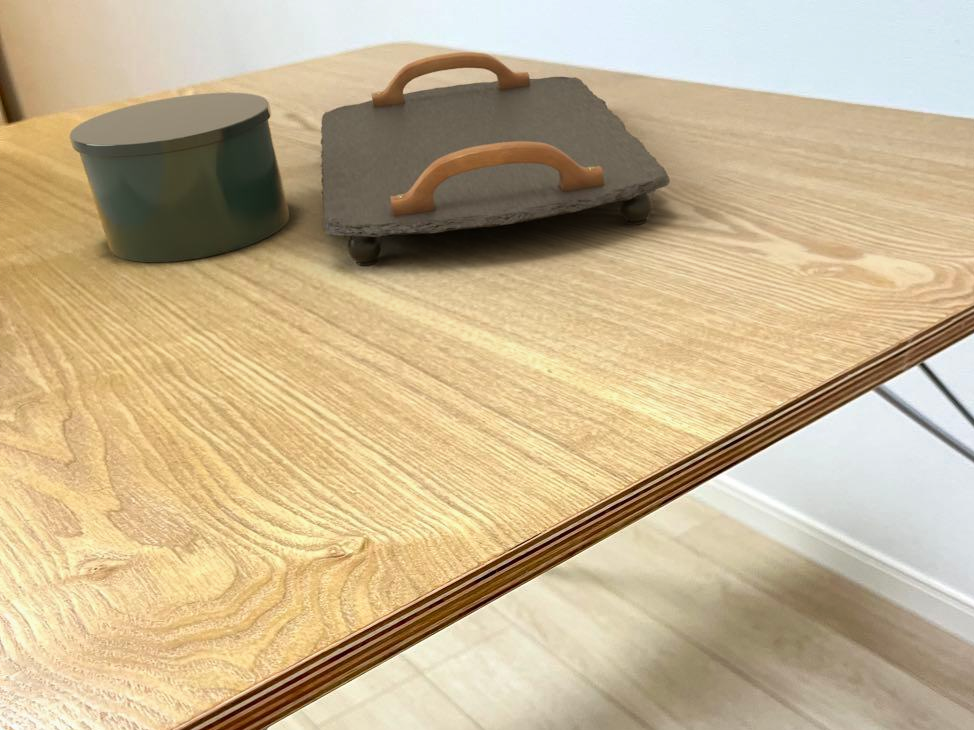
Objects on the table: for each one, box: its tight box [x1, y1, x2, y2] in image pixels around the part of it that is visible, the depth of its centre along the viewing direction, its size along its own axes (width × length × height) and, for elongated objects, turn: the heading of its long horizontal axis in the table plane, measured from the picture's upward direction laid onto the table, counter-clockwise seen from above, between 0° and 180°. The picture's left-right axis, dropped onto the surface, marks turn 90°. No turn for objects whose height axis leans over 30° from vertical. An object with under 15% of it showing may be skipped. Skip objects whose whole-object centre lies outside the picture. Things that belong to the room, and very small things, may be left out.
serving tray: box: [319, 51, 670, 267], centre depth 86 cm, size 39×23×6 cm, turn 9°
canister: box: [69, 92, 290, 263], centre depth 81 cm, size 14×14×8 cm
